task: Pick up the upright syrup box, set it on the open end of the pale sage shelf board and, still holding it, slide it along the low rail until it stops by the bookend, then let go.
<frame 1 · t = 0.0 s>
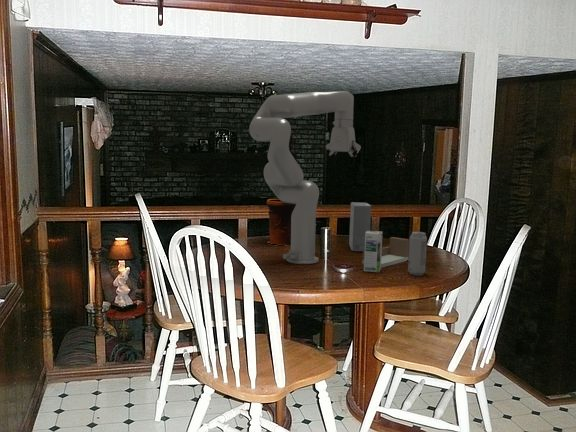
hand: (342, 165, 229), 37 cm above the table, tool pointing down, fingers open, 9 cm apart
hard drive box: (358, 249, 244), on the table
syrup box: (372, 271, 203), on the table
shelf: (383, 262, 217), on the table
energy drink can: (416, 274, 199), on the table
vessel: (281, 243, 254), on the table
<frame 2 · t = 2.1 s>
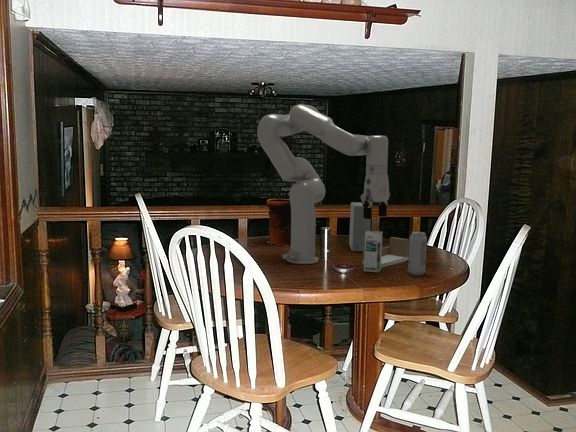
hand: (375, 217, 200), 20 cm above the table, tool pointing down, fingers open, 9 cm apart
nothing on the table moved.
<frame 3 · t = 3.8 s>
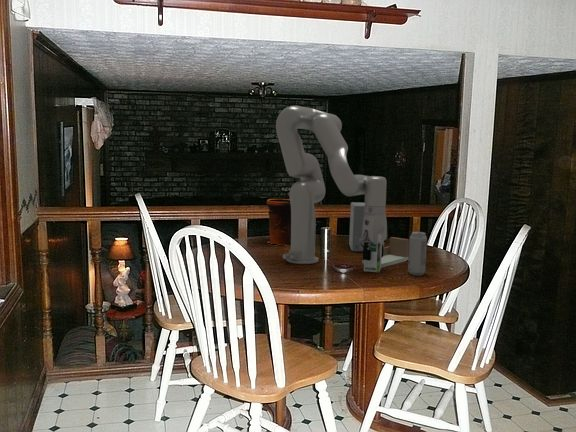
hand: (372, 257, 202), 5 cm above the table, tool pointing down, fingers closed on syrup box, 7 cm apart
syrup box: (372, 271, 203), on the table, touching gripper
everything else where it was.
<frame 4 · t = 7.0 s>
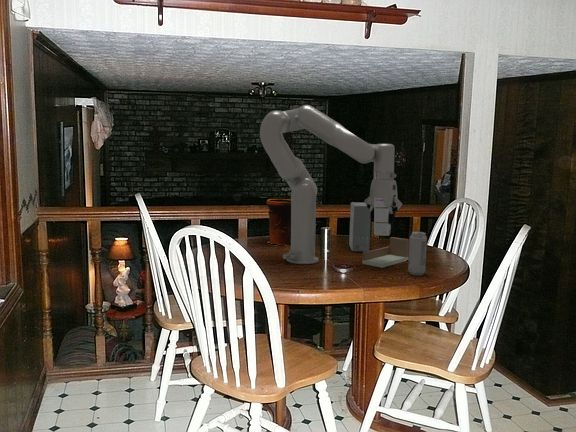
hand: (382, 222, 211), 16 cm above the table, tool pointing down, fingers closed on syrup box, 7 cm apart
syrup box: (382, 235, 212), point 11 cm above the table, touching gripper
everything else where it was.
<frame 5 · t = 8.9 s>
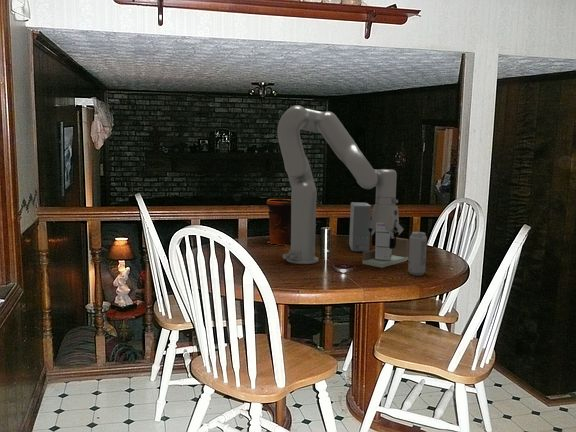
hand: (383, 246, 214), 7 cm above the table, tool pointing down, fingers closed on syrup box, 7 cm apart
syrup box: (383, 258, 215), point 2 cm above the table, touching gripper
everything else where it was.
when the fingers open (7 cm above the table, at t = 10.5 s): syrup box stays where it is, resting on shelf.
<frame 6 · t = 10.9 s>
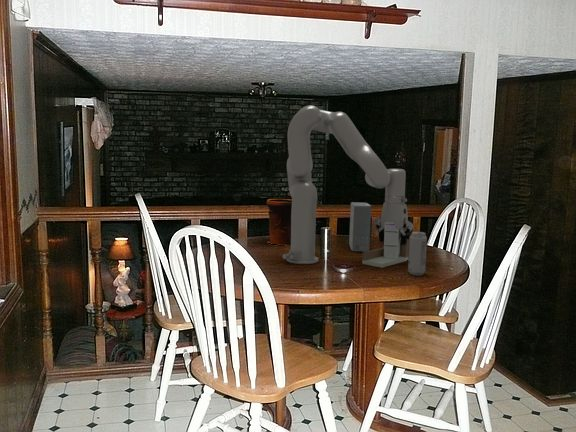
hand: (392, 243, 219), 7 cm above the table, tool pointing down, fingers open, 9 cm apart
syrup box: (391, 257, 220), point 1 cm above the table, touching shelf
everything else where it was.
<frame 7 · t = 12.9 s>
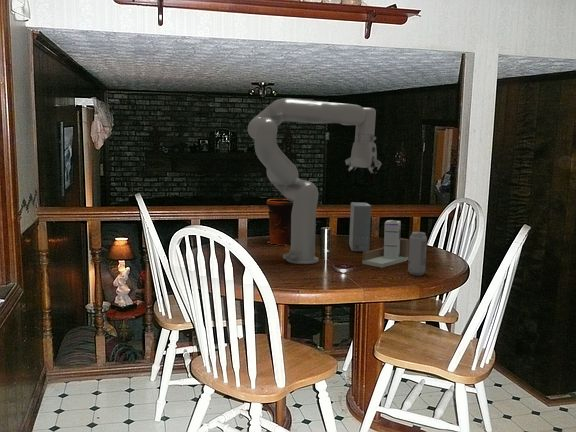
hand: (361, 182, 221), 31 cm above the table, tool pointing down, fingers open, 9 cm apart
nothing on the table moved.
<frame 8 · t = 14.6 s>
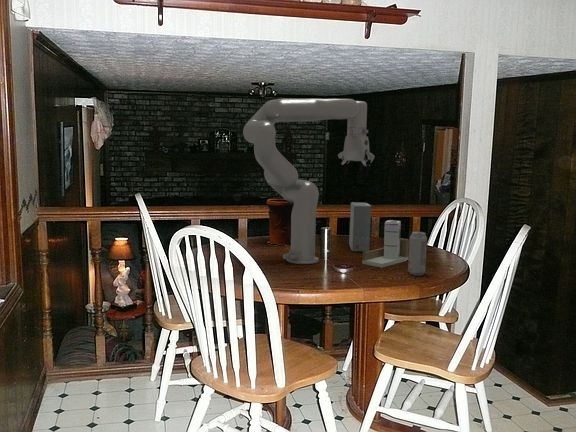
hand: (355, 175, 223), 33 cm above the table, tool pointing down, fingers open, 9 cm apart
nothing on the table moved.
at the end: syrup box 0.7 cm from the target spot on the shelf, point 1.3 cm above the shelf's base; syrup box tilted 0°; the gripper is holding nothing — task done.
